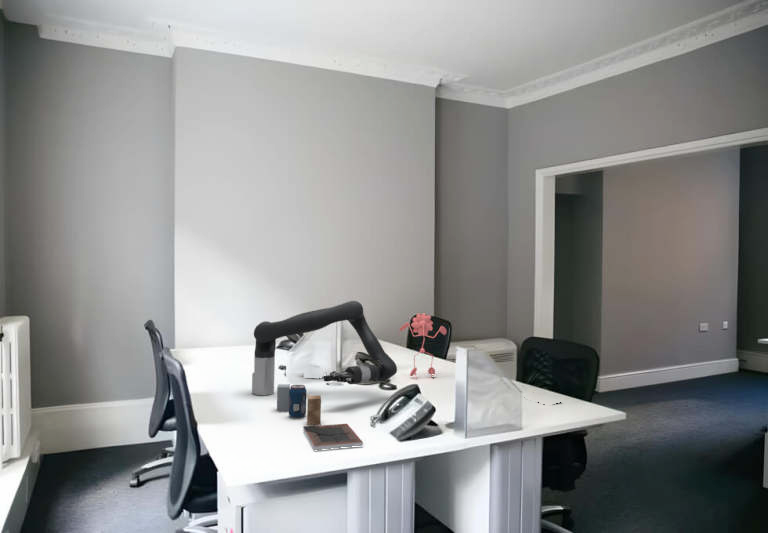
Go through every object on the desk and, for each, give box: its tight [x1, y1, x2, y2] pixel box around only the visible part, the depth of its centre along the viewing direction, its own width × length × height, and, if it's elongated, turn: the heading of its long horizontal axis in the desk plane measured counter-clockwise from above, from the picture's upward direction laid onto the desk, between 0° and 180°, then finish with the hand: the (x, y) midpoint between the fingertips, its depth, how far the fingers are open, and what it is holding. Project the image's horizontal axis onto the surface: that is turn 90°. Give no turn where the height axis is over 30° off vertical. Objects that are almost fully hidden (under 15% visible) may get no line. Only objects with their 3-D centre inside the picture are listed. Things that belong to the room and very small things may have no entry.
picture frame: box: [302, 423, 364, 451], centre depth 190 cm, size 16×2×22 cm
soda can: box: [288, 384, 307, 419], centre depth 216 cm, size 7×7×12 cm
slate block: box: [276, 383, 291, 412], centre depth 225 cm, size 5×5×10 cm
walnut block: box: [306, 394, 322, 426], centre depth 208 cm, size 5×5×10 cm
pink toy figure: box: [398, 312, 447, 378], centre depth 296 cm, size 15×26×35 cm, turn 102°
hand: (324, 378), depth 225 cm, fingers closed
